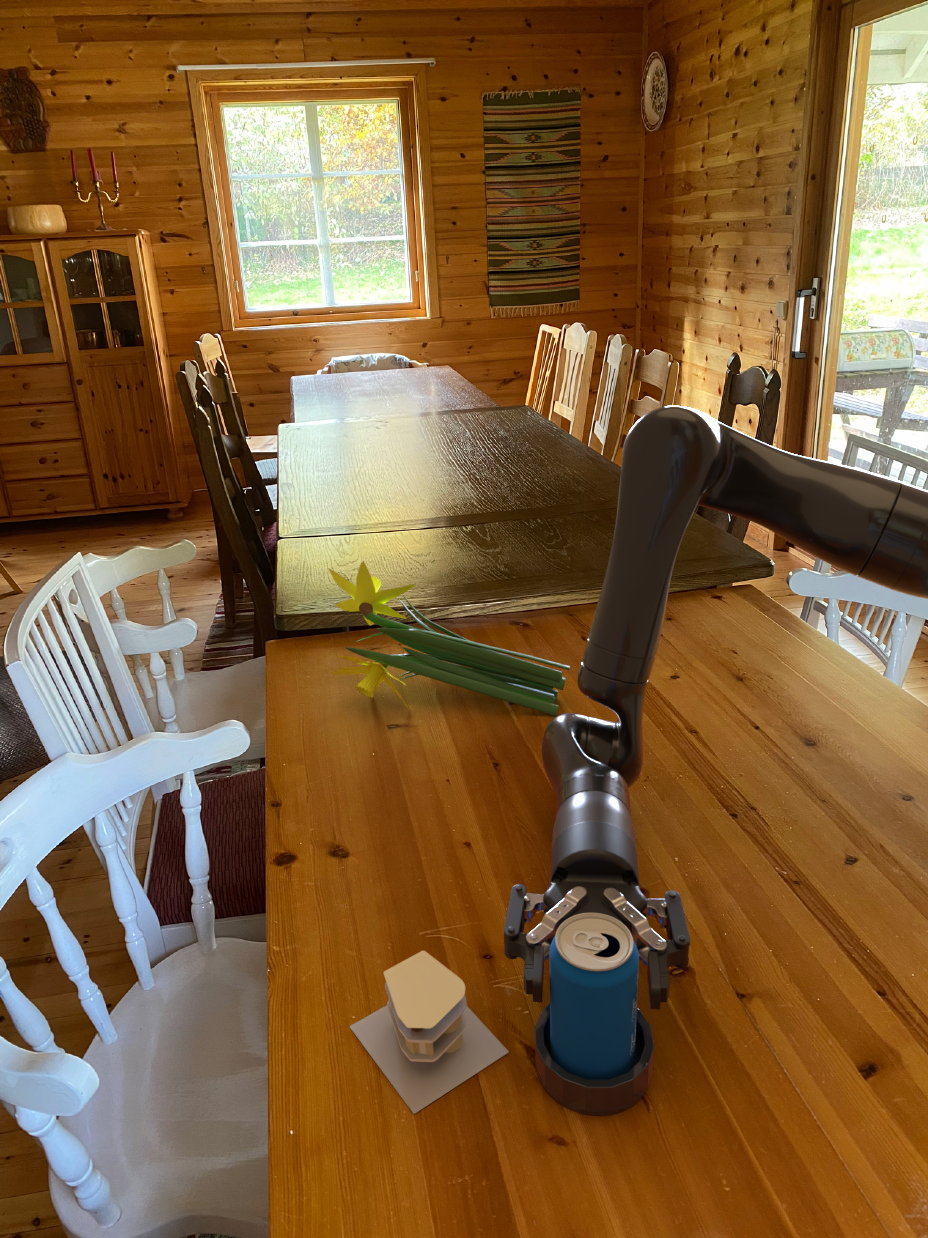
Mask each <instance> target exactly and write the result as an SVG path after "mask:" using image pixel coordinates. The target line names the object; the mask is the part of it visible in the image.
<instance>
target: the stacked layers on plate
mask: <svg viewBox="0 0 928 1238" xmlns="http://www.w3.org/2000/svg"><path fill="white" fill-rule="evenodd" d="M383 976H384V979H385V983H384V989H385V992H386V995H387V997H388V1001H387V1002H386V1005H384V1006H383V1007H381V1008H378V1009H377V1010H376V1011H374V1012H372V1013H370V1014H368V1015H367V1016H365V1017H363V1018H361V1019H360V1020H358V1021H355V1022H354V1023H353V1024H350V1026H349V1028H350V1030H351V1031H352V1032H353V1034H354V1035H355V1037H356V1038H357V1039H358V1041H359V1043H360V1044H361V1045H362V1046H363V1047H364V1049H365V1050H366V1052H367V1053H368V1055H370V1056H371V1058H372V1059H373V1061H374V1062H375V1064H376V1065H377V1066H378V1068H379V1069H380V1071H382V1073H383V1074H384V1076H385V1077H386V1079H387V1080H388V1081H389V1082H390V1084H391V1085H392V1087H393V1088H394V1089H395V1091H396V1092H397V1093H398V1095H399V1096H400V1097H401V1099H402V1100H403V1102H404V1103H405V1104H406V1105H407V1107H408V1109H410V1111H411V1112H412V1114H413V1115H415V1114H417V1113H418V1112H419V1111H421V1110H423V1109H424V1108H426V1107H427V1106H429V1105H430V1104H432V1103H434V1102H435V1101H436V1100H438V1099H439V1098H441V1097H443V1096H444V1095H446V1094H447V1093H449V1092H450V1091H451V1090H454V1089H456V1088H457V1087H458V1086H460V1085H462V1083H465V1082H466V1081H467V1080H469V1079H470V1078H472V1077H473V1076H474V1075H477V1074H478V1073H479V1072H481V1071H482V1070H484V1069H486V1068H487V1067H489V1066H490V1065H492V1064H493V1063H495V1062H497V1061H498V1060H500V1059H502V1058H503V1057H504V1056H505V1055H507V1054H509V1053H510V1051H509V1049H507V1048H506V1047H505V1046H504V1044H502V1042H501V1041H500V1040H499V1039H498V1038H497V1036H495V1035H494V1033H492V1032H491V1030H490V1029H489V1028H488V1027H487V1026H486V1025H485V1024H484V1023H483V1022H482V1021H481V1020H480V1018H479V1017H478V1016H477V1015H476V1014H475V1013H474V1012H473V1011H472V1009H471V1008H470V1007H469V1006H468V1005H467V998H466V984H465V982H464V981H463V979H462V978H461V977H459V976H458V975H457V974H455V972H453V971H451V969H449V968H448V967H447V966H445V965H444V964H442V962H440V961H439V960H437V959H436V958H435V957H433V956H432V955H431V954H430V953H428V952H427V951H426V950H421V951H419V952H417V953H415V954H413V955H411V956H410V957H408V958H406V959H404V960H402V961H401V962H399V963H397V964H395V965H393V966H392V967H390V968H388V969H386V970H384V971H383Z"/></svg>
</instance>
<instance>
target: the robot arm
mask: <svg viewBox="0 0 928 1238" xmlns="http://www.w3.org/2000/svg"><path fill="white" fill-rule="evenodd" d="M698 506H699V507H703V508H707V509H710V510H714V511H717V512H721V513H724V514H727V515H731V516H734V517H738V518H741V519H743V520H746V521H749V522H752V523H753V524H756V525H758V526H761V527H763V528H765V529H766V530H769V531H770V532H772V533H774V534H776V535H778V536H779V537H781V538H782V539H784V540H786V541H787V542H789V543H791V544H792V545H794V546H796V547H797V548H799V549H801V550H803V551H804V552H806V553H808V554H809V555H811V556H813V557H815V558H817V559H819V560H820V561H823V562H824V563H826V564H829V565H830V566H833V567H835V568H837V569H840V570H842V571H844V572H846V573H848V574H850V575H853V576H854V577H855V576H856V577H858V578H861V579H863V580H866V581H868V582H871V583H873V584H875V585H878V586H881V587H883V588H886V589H889V590H892V591H895V592H897V593H900V594H903V595H906V596H911V597H916V598H920V599H926V600H928V490H926V489H923V488H921V487H917V486H915V485H913V484H910V483H906V482H904V481H900V480H898V479H895V478H891V477H888V476H885V475H881V474H877V473H874V472H870V471H867V470H863V469H860V468H856V467H851V466H848V465H843V464H838V463H834V462H830V461H825V460H822V459H821V460H820V459H816V458H812V457H807V456H802V455H798V454H794V453H791V452H788V451H785V450H782V449H779V448H777V447H774V446H772V445H769V444H767V443H765V442H762V441H760V440H758V439H756V438H753V437H751V436H749V435H747V434H744V433H743V432H741V431H739V430H737V429H735V428H732V427H731V426H728V425H726V424H724V423H722V422H721V421H719V420H717V419H716V418H713V417H711V416H710V415H709V414H707V413H705V412H702V411H700V410H699V409H696V408H691V407H687V406H682V405H681V406H680V405H667V406H662V407H658V408H655V409H653V410H651V411H649V412H647V413H645V414H644V415H642V416H641V417H640V418H639V419H637V421H636V422H635V423H634V424H633V425H632V427H630V429H629V431H628V433H627V434H626V436H625V439H624V442H623V446H622V457H621V467H620V477H619V489H618V501H617V509H616V510H617V511H616V519H615V525H614V531H613V538H612V543H611V549H610V553H609V559H608V563H607V566H606V570H605V575H604V579H603V583H602V586H601V590H600V593H599V597H598V600H597V603H596V607H595V611H594V615H593V618H592V622H591V625H590V629H589V632H588V637H587V639H586V644H585V647H584V651H583V655H582V659H581V662H580V666H579V670H578V674H577V687H578V689H579V691H580V693H581V694H582V695H584V696H585V697H586V698H588V699H590V700H592V701H593V702H595V703H597V704H600V705H601V706H604V707H605V708H608V709H609V710H611V711H612V712H614V714H615V715H616V716H617V720H616V722H615V721H610V720H606V719H601V718H596V717H592V716H587V715H584V714H580V713H574V712H566V713H562V714H559V715H558V716H557V715H556V716H555V717H554V718H553V719H552V720H551V721H550V722H549V724H548V725H547V726H546V728H545V730H544V733H543V736H542V741H541V760H542V764H543V768H544V772H545V774H546V777H547V779H548V781H549V784H550V786H551V789H552V790H553V793H554V797H555V798H556V806H555V807H556V808H555V821H554V824H553V827H552V834H551V835H552V836H551V849H550V859H551V860H550V873H549V874H550V876H549V877H550V878H549V886H548V888H547V890H546V891H544V893H532V892H527V886H525V885H524V884H521V883H517V884H513V885H512V887H511V890H510V895H509V900H508V905H507V909H506V910H507V911H506V915H505V921H504V925H503V926H504V927H503V946H504V947H503V949H504V956H505V958H506V959H509V960H515V959H522V960H523V961H524V965H523V989H524V992H525V995H532V1003H543V995H544V978H545V977H544V974H545V961H547V960H548V959H549V958H550V953H549V952H550V946H551V943H552V940H553V938H554V937H555V935H556V932H557V930H558V928H559V926H560V925H561V924H562V923H563V922H564V921H565V920H567V919H568V918H570V917H572V916H574V915H578V914H582V913H600V914H605V915H608V916H611V917H613V918H615V919H617V920H619V921H620V922H622V923H623V924H624V925H625V926H626V927H627V928H628V929H629V931H630V933H631V935H632V937H633V941H634V943H635V944H636V947H637V949H638V954H639V961H641V963H642V964H643V965H645V966H646V968H647V969H646V970H647V971H646V975H647V976H646V977H647V987H648V989H647V990H648V1001H649V1009H650V1010H658V1011H659V1010H661V1003H668V1001H669V997H670V975H669V968H671V967H675V968H677V969H686V968H688V966H689V964H690V963H689V962H690V961H689V960H690V958H689V952H690V945H691V938H690V937H691V936H690V932H689V928H688V924H687V920H686V915H685V910H684V906H683V902H682V898H681V894H680V893H679V892H678V891H676V890H667V891H666V892H665V893H664V898H647V896H646V895H645V894H644V893H643V892H642V890H641V884H640V875H639V874H640V873H639V860H638V850H637V838H636V832H635V827H634V824H633V820H632V811H631V796H630V790H629V788H631V787H632V786H633V785H634V784H635V783H636V782H637V781H638V779H639V777H640V775H641V773H642V770H643V765H644V736H643V719H644V705H645V699H646V692H647V689H648V685H649V680H650V677H651V673H652V670H653V666H654V663H655V659H656V656H657V653H658V649H659V645H660V641H661V638H662V637H661V636H662V633H663V627H664V623H665V617H666V611H667V604H668V597H669V591H670V585H671V579H672V575H673V571H674V567H675V563H676V559H677V556H678V552H679V549H680V546H681V544H682V541H683V538H684V536H685V533H686V530H687V528H688V526H689V524H690V522H691V519H692V517H693V515H694V512H695V510H696V508H697V507H698ZM540 911H543V913H544V915H543V917H542V920H541V922H540V923H538V925H536V926H535V927H534V928H533V929H532V930H531V931H529V932H528V933H524V930H525V924H526V923H530V922H531V920H532V919H533V918H534V917H535V916H536V914H537V913H538V912H540ZM647 916H650V917H653V918H654V919H655V921H656V923H657V924H659V928H660V929H662V930H665V931H666V936H667V940H665V939H664V938H662V936H660V934H658V933H657V932H656V931H655V930H654V929H653V928H652V927H651V925H650V923H649V920H648V919H647Z"/></svg>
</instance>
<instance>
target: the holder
mask: <svg viewBox="0 0 928 1238" xmlns="http://www.w3.org/2000/svg"><path fill="white" fill-rule="evenodd" d="M653 1034H654V1033H653V1028H652V1026H651V1024H650V1022H649V1021H648V1020H647V1018H646V1017H645V1015H644V1014H643V1012H642V1011H641V1009H639V1008H638V1007H637V1014H636V1037H635V1057H634V1062H633V1065H632V1067H631V1069H630V1071H629V1072H628V1073H625V1074H622V1075H620V1076H617V1077H614V1078H612V1079H609V1080H596V1079H585V1078H582V1077H579V1076H576V1075H573V1074H570V1073H568V1072H567V1071H566V1070H564V1069H563V1068H562V1067H561V1066H559V1065H558V1064H557V1063H556V1062H555V1061H553V1059H552V1055H551V1048H550V1003H548V1004H547V1005H546V1006H545V1007H544V1008H542V1010H541V1012H540V1014H539V1017H538V1019H537V1020H536V1023H535V1025H534V1058H535V1061H534V1062H535V1070H536V1074H537V1076H538V1077H537V1078H538V1079H539V1082H540V1084H541V1085H542V1087H543V1089H544V1090H545V1091H546V1092H547V1094H548V1095H549V1096H551V1098H552V1099H553V1100H554V1101H556V1102H557V1103H558V1104H560V1105H562V1106H563V1107H564V1108H567V1109H569V1110H570V1111H574V1112H576V1113H578V1114H579V1113H580V1114H584V1115H589V1116H599V1117H600V1116H609V1115H615V1114H618V1113H621V1112H623V1111H626V1110H628V1109H630V1108H632V1107H633V1106H634V1105H636V1104H637V1103H638V1102H639V1101H640V1100H641V1099H642V1098H643V1096H645V1094H646V1093H647V1091H648V1089H649V1086H650V1084H651V1082H652V1076H653V1072H654V1064H655V1063H654V1061H655V1047H656V1046H655V1039H654V1035H653Z"/></svg>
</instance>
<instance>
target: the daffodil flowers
mask: <svg viewBox="0 0 928 1238" xmlns="http://www.w3.org/2000/svg"><path fill="white" fill-rule="evenodd" d="M327 569H328V571H329V573H330V575H331V577H332V579H333V581H334V582H335V583H336V584H337V586H338V587H339V588H340V589H342V590H343V591H344V592H346V593H347V594H348V595H349V596H350V597H351V598H348V599H345V600H342V601H339V602H337V603H336V604H334V606H335V607H337V608H338V609H341V610H342V611H345V612H352V613H353V612H360V614H361V615H362V617H363V618H364V620H365V621H366V623H367V625H368V626H372V625H374V624H375V625H378V626H380V627H379V628H376V630H377V631H379V632H376V633H373V634H370V635H367V636H366V637H363V638H360V639H358V640H355V642H361V641H364V640H367V639H370V638H373V637H374V638H375V637H377V636H381V635H385V636H387V637H388V638H391V639H393V640H394V641H396V642H398V643H400V644H402V645H404V646H403V647H402V649H403V650H404V651H405V652H406V653H401V654H400V653H399V654H391V653H390V654H389V653H388V654H387V653H383V652H379V651H374V650H370V649H365V648H358V647H349V646H345V650H348V651H349V652H351V653H353V654H356V655H359V656H361V657H364V658H366V659H369V660H371V661H366V660H364V659H361V658H359V657H356V656H352V655H337V654H336V655H335V657H339V658H341V659H343V660H347V661H350V662H353V663H355V664H358V665H360V666H345V667H340V668H339V669H337V670H335V671H333V672H332V673H331V675H343V676H344V675H345V676H346V675H347V676H348V675H365V676H364V677H363V678H362V679H361V680H360V681H359V682H358V683H357V684H356V685H355V686H354V688H355V689H356V691H358V693H362V694H361V695H365V697H366V698H367V697H368V698H369V699H370V698H371V699H373V698H374V695H375V692H376V690H377V688H378V687H379V686H380V685H382V683H383V682H384V683H385V684H386V686H388V687H389V688H390V689H391V690H392V691H393V692H394V693H395V694H396V695H397V696H398V697H399V698H400V699H401V700H402V702H403V703H404V706H405V707H406V708H407V710H410V707H409V706H408V705H407V703H406V702H405V700H404V698H403V697H402V695H401V693H400V692H399V691H398V689H397V688H396V687H395V685H394V684H393V683H392V681H391V680H390V678H392V679H393V680H395V681H397V682H400V684H402V685H404V686H405V687H407V684H406V683H405V682H404V681H403V680H405V679H409V678H412V677H416V676H421V677H422V676H423V677H424V678H428V679H431V680H435V681H439V682H442V683H445V684H448V685H452V686H454V687H458V688H462V689H464V690H469V691H472V692H475V693H478V694H481V695H485V696H487V697H488V696H489V697H491V698H494V699H498V700H500V701H501V700H502V701H504V702H508V703H511V704H514V705H517V706H520V707H523V708H524V707H525V708H528V709H531V710H534V711H538V712H540V713H544V714H548V715H550V716H554V717H557V713H558V711H559V705H557V704H555V702H556V701H557V698H558V693H559V691H558V690H560V691H564V688H565V684H566V677H563V671H561V670H557V669H554V668H550V667H547V666H544V665H540V664H537V663H534V662H538V663H541V664H545V665H548V666H552V667H556V668H559V669H564V670H566V671H570V669H571V666H570V665H566V664H562V663H559V662H555V661H551V660H548V659H543V658H540V657H537V656H533V655H529V654H525V653H522V652H516V651H513V650H508V649H505V648H500V647H497V646H490V645H488V644H484V643H479V642H475V641H472V640H471V639H467V638H465V637H463V636H461V635H459V634H457V633H455V632H452V631H450V630H449V629H447V628H445V627H443V626H441V625H439V624H437V623H435V622H434V621H431V620H430V619H428V618H427V617H425V616H424V615H423V614H422V613H421V612H420V611H418V610H417V609H416V608H415V607H414V605H412V603H411V602H410V601H409V600H408V598H407V597H406V596H405V595H404V593H406V592H408V591H409V590H411V589H412V588H414V587H415V586H416V585H417V584H416V583H410V584H407V585H405V586H400V587H399V586H398V587H392V588H388V589H383V590H380V588H381V586H382V581H381V578H378V576H375V575H372V576H371V573H370V570H369V569H368V566H367V565H366V562H365V561H361V563H360V565H359V567H358V570H357V575H356V580H355V583H356V584H354V582H352V581H350V580H349V579H347V578H346V577H344V576H342V575H341V574H340V573H338V572H336V571H335V570H333V569H331V568H330V567H328V568H327ZM400 596H402V597H403V598H404V599H405V601H406V604H408V606H409V607H410V609H411V610H412V611H413V612H414V613H413V612H412V611H411V610H410V609H409V608H408V607H407V606H406V604H405V603H404V602H403V601H402V600H401V599H400V598H398V597H400ZM396 598H398V601H399V602H400V604H401V605H402V606H403V608H404V610H405V611H406V612H407V613H408V615H409V616H410V617H411V618H412V619H413V621H415V622H416V623H417V624H418V625H419V626H421V627H422V628H419V627H415V626H412V625H408V624H405V623H402V622H399V621H395V620H392V619H389V618H385V617H383V616H380V615H378V614H381V615H384V616H387V617H388V616H389V617H393V618H399V619H403V620H407V616H405V615H402V614H400V613H399V612H398V611H396V610H395V609H393V608H391V607H390V606H389V605H387V604H386V603H388V602H390V601H392V600H394V599H396ZM416 616H417V617H416ZM420 619H421V620H420ZM428 625H429V626H431V627H429V626H428ZM433 628H434V629H433ZM435 629H437V630H438V631H440V632H442V633H440V632H438V631H436V630H435ZM405 646H406V647H405ZM521 658H522V659H521ZM524 659H525V660H524ZM526 659H527V660H530V661H527V660H526ZM373 661H374V662H373ZM531 661H534V662H531ZM389 667H391V668H396V669H398V670H403V671H406V672H405V673H403V674H400V675H398V676H397V677H395V676H394V675H393V674H391V673H390V672H389V671H388V670H387V668H389ZM403 676H404V677H403ZM389 677H390V678H389ZM399 677H402V678H400V679H399Z"/></svg>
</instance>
